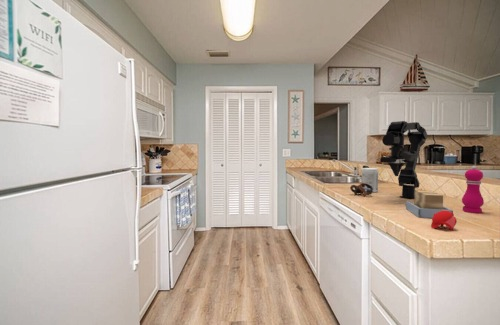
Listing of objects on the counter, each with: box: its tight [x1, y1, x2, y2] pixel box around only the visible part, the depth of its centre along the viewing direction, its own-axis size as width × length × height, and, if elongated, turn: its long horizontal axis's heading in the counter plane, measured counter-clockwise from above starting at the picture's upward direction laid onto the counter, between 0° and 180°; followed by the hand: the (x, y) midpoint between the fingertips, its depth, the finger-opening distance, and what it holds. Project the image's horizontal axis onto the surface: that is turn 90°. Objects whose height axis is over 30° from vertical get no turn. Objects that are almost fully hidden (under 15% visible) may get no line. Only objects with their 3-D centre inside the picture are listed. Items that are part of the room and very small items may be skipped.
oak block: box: [413, 189, 444, 210], centre depth 108 cm, size 12×6×9 cm, turn 165°
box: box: [405, 200, 454, 219], centre depth 108 cm, size 16×12×4 cm
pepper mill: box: [461, 165, 485, 214], centre depth 111 cm, size 7×7×20 cm
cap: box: [430, 210, 457, 231], centre depth 89 cm, size 8×6×6 cm
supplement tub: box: [361, 167, 379, 193], centre depth 163 cm, size 10×10×15 cm
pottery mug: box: [350, 182, 374, 198], centre depth 150 cm, size 12×10×8 cm
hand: (396, 176), depth 133 cm, fingers closed
